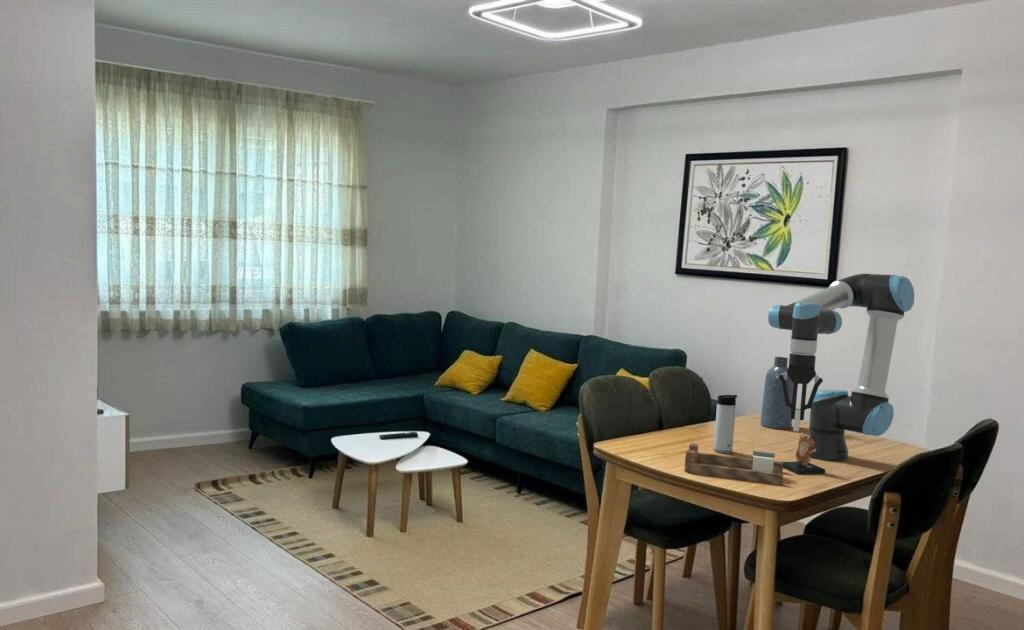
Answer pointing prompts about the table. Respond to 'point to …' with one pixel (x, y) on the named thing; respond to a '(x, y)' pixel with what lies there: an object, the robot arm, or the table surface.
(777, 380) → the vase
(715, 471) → the guide
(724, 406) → the travel mug
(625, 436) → the table surface
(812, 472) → the figurine
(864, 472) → the table surface
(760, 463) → the block
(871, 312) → the robot arm
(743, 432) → the table surface
